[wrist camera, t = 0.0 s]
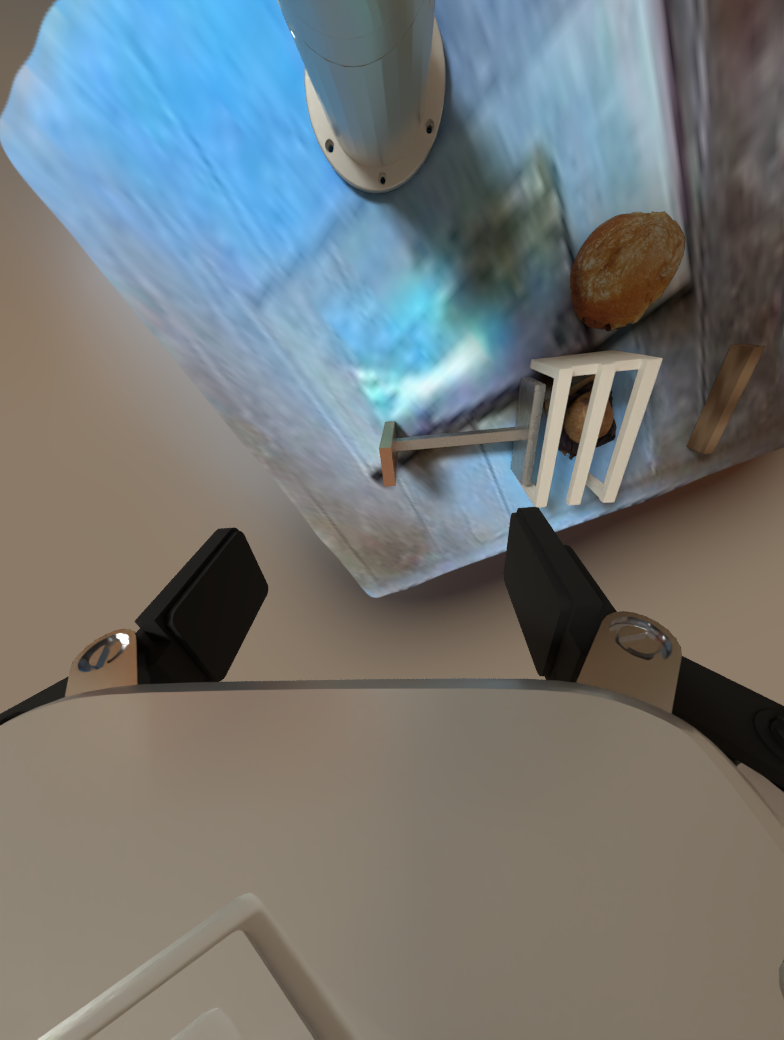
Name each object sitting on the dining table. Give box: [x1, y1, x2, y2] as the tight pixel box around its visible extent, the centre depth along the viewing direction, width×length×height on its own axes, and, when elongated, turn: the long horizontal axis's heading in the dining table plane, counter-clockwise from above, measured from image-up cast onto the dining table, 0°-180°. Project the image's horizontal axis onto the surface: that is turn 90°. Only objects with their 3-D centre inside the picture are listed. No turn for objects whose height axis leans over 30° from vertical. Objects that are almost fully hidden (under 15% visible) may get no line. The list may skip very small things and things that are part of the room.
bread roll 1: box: [544, 374, 616, 459], centre depth 42 cm, size 11×8×4 cm
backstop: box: [687, 344, 765, 454], centre depth 40 cm, size 13×1×3 cm, turn 6°
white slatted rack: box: [516, 350, 663, 507], centre depth 40 cm, size 17×10×9 cm, turn 6°
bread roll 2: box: [570, 212, 685, 331], centre depth 33 cm, size 10×10×8 cm
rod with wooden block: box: [379, 377, 546, 486], centre depth 40 cm, size 13×20×11 cm, turn 96°
